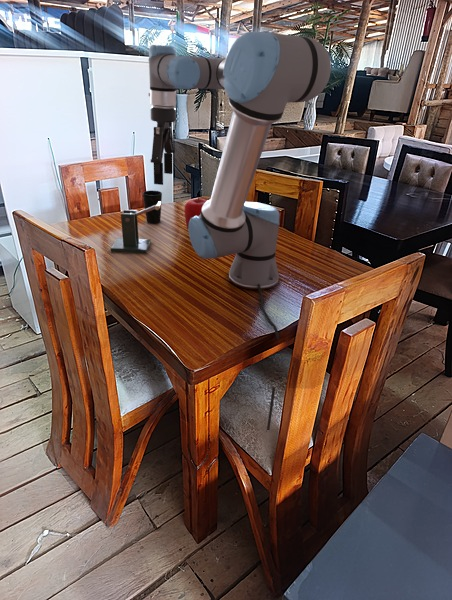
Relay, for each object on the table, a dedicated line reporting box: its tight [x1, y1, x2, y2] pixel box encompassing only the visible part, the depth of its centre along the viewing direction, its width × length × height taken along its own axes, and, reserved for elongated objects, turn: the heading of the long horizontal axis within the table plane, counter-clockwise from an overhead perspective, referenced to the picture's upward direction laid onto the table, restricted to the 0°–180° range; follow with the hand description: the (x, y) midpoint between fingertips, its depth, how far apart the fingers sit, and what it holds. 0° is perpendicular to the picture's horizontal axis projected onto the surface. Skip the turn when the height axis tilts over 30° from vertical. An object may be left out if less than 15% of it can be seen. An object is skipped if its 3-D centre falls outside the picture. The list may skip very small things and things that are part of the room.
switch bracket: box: [110, 209, 152, 255], centre depth 137 cm, size 12×10×13 cm
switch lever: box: [128, 201, 163, 217], centre depth 134 cm, size 13×6×2 cm, turn 90°
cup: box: [142, 190, 163, 225], centre depth 163 cm, size 8×8×12 cm
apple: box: [183, 197, 208, 230], centre depth 154 cm, size 10×10×14 cm
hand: (163, 178), depth 130 cm, fingers open, 13 cm apart
